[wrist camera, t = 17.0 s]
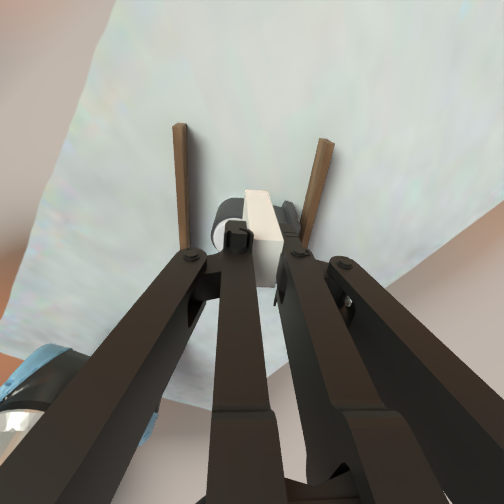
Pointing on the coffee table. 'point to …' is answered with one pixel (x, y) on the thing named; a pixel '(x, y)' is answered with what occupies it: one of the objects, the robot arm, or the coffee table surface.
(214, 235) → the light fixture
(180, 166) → the bay
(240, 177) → the coffee table surface
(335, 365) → the robot arm
